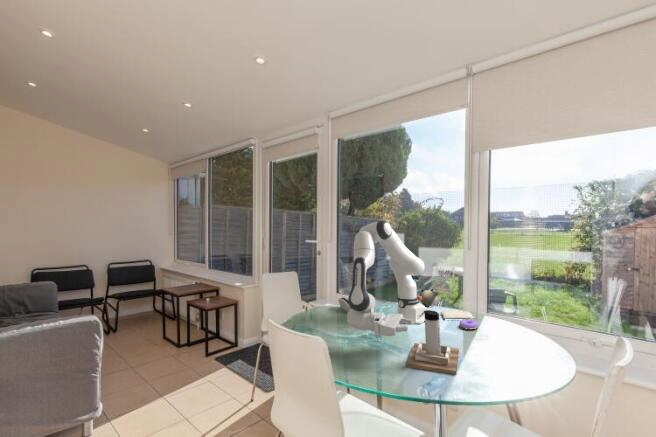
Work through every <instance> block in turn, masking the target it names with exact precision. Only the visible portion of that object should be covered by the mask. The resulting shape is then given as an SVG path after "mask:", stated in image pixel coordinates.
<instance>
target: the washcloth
mask: <svg viewBox="0 0 656 437" xmlns="http://www.w3.org/2000/svg"><path fill="white" fill-rule="evenodd" d="M440 315H441V316H442V315H443V316H442V318H443V320H444V319H470V318H474V319H476V317H475V316H474V315H473V314H472V312H470V311H469V310H468V311H465V310H442V311H440ZM472 315H473V316H474V317H473V316H472Z"/></svg>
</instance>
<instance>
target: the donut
mask: <svg viewBox="0 0 656 437" xmlns="http://www.w3.org/2000/svg"><path fill="white" fill-rule="evenodd" d="M460 326H461V327H463V328H467V329H470V328H475V327H477V326H478V327H479V324H478V322H477V321H476V320H475V321H474V320H468V319H466V320H462V321H459V327H460ZM461 327H460V328H461ZM463 328H462V329H463Z"/></svg>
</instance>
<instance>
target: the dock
mask: <svg viewBox="0 0 656 437" xmlns="http://www.w3.org/2000/svg"><path fill="white" fill-rule="evenodd" d="M440 345H441V357H440V356H433V355H426V342H421V341H420V342H419V343H418V342H415V343H414V344H413V347H412V349H411V350H410V353H409V355H408V358H407V360H406V362H405V367H406V368H413V369H418V370H424V371H430V372H437V373H442V374H443V373H444V374H450V375H457V371H458V364H457V363H459V362H458V361H459V356H458V354H459V355H460V348H457V347H451V345H444V344H440Z"/></svg>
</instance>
